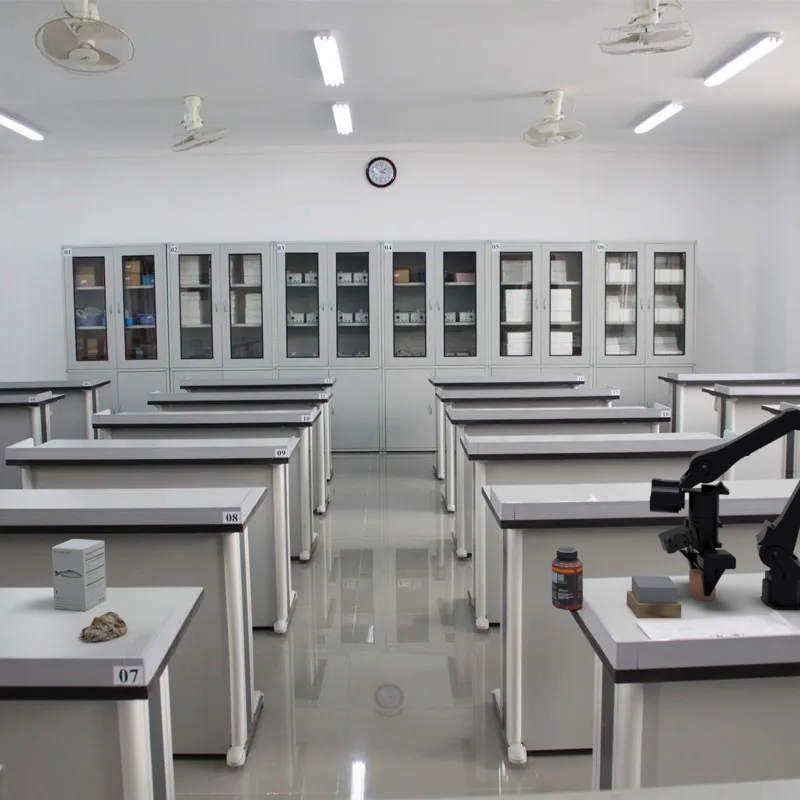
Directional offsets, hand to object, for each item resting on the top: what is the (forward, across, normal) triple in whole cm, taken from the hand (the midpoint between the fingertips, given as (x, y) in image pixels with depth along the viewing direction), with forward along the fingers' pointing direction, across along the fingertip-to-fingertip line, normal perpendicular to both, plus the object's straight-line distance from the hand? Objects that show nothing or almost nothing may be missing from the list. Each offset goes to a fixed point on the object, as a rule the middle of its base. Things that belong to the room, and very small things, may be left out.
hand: (702, 591), depth 161 cm
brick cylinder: (+1, 0, 0) cm, 1 cm away
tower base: (+2, +8, -12) cm, 15 cm away
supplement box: (+1, +2, -125) cm, 125 cm away
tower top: (-2, +8, -12) cm, 14 cm away
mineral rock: (+2, +17, -114) cm, 115 cm away
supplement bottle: (+1, +5, -28) cm, 28 cm away
